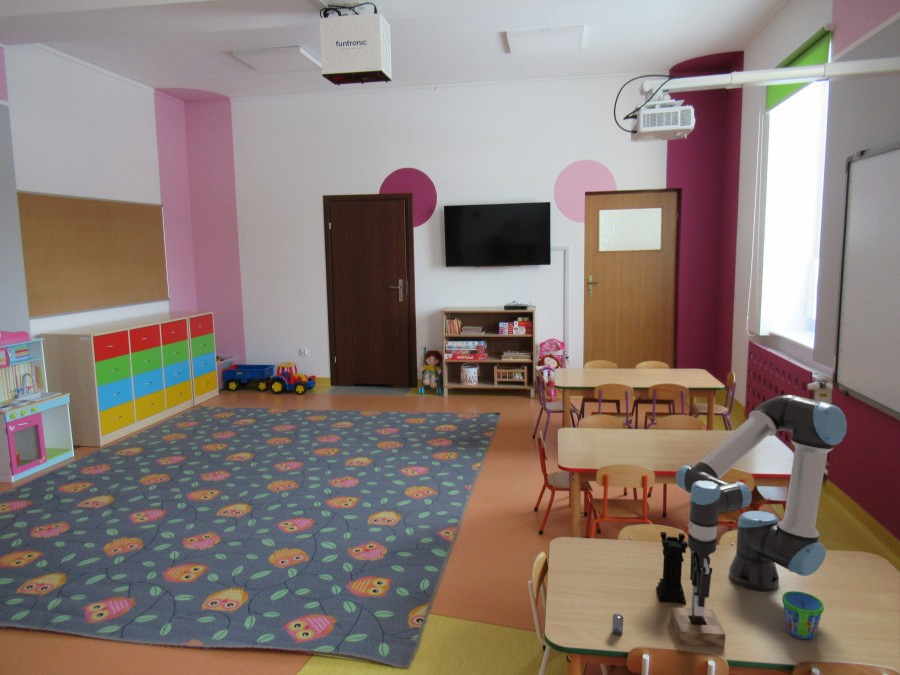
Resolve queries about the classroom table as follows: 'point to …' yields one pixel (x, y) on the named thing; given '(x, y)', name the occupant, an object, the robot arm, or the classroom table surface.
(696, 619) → the long pin
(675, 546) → the chess piece
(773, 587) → the robot arm
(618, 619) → the short pin
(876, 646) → the classroom table surface
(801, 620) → the snack cup
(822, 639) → the classroom table surface
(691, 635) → the hole block
